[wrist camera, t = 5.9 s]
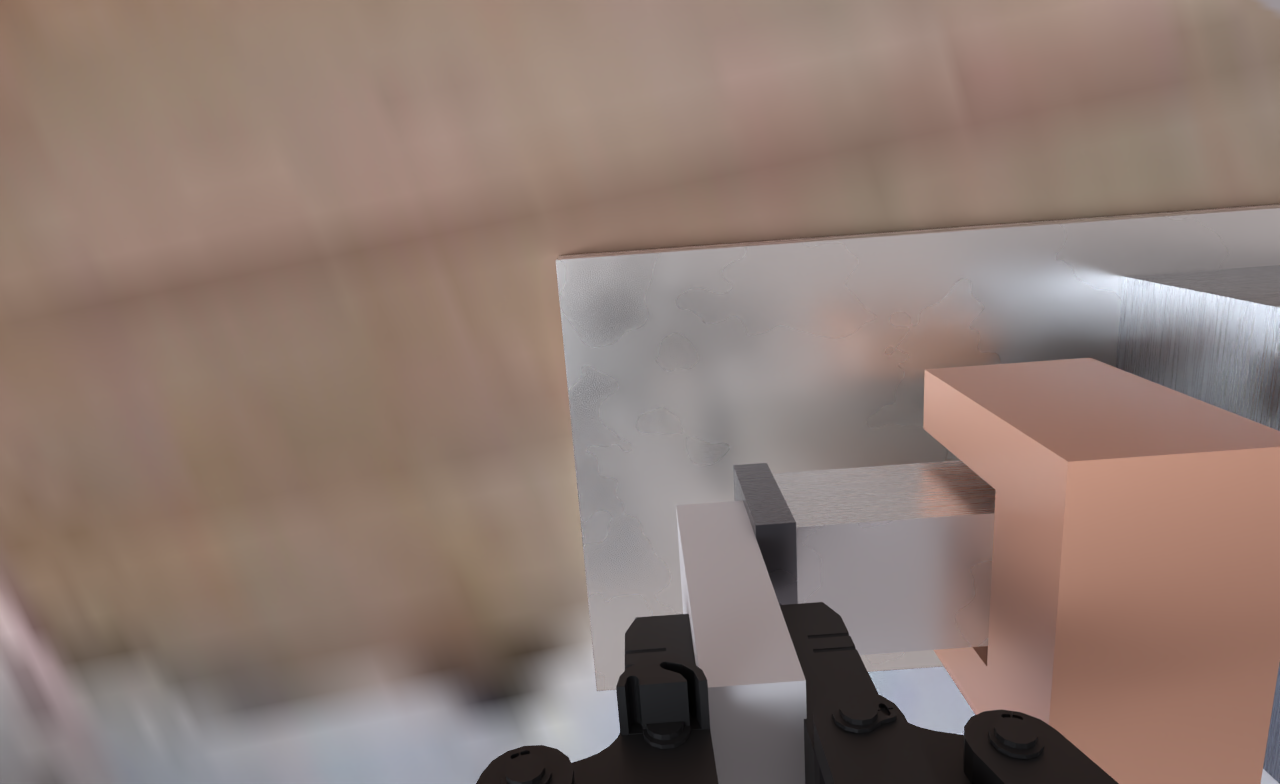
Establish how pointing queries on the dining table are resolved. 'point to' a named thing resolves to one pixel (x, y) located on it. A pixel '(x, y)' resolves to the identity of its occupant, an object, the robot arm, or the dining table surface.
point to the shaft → (880, 548)
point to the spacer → (1122, 565)
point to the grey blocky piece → (874, 362)
